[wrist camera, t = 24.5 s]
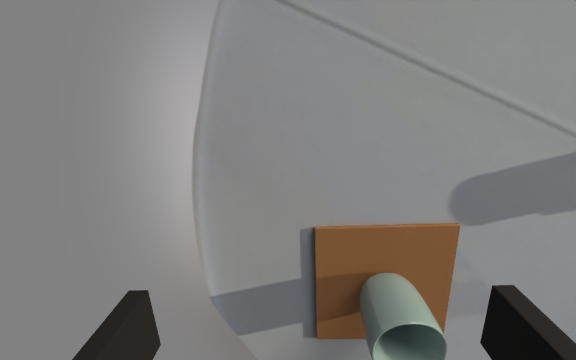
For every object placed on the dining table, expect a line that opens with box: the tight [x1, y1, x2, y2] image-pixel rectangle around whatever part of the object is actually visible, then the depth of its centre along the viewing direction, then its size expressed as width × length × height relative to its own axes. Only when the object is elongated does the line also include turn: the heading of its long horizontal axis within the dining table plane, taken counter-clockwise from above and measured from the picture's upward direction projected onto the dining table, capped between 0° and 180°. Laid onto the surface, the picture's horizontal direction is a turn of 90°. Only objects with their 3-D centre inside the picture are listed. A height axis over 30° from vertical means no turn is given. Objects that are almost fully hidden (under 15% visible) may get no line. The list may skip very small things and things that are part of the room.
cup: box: [359, 272, 447, 360], centre depth 35 cm, size 8×8×10 cm
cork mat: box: [315, 223, 460, 339], centre depth 40 cm, size 18×18×1 cm
